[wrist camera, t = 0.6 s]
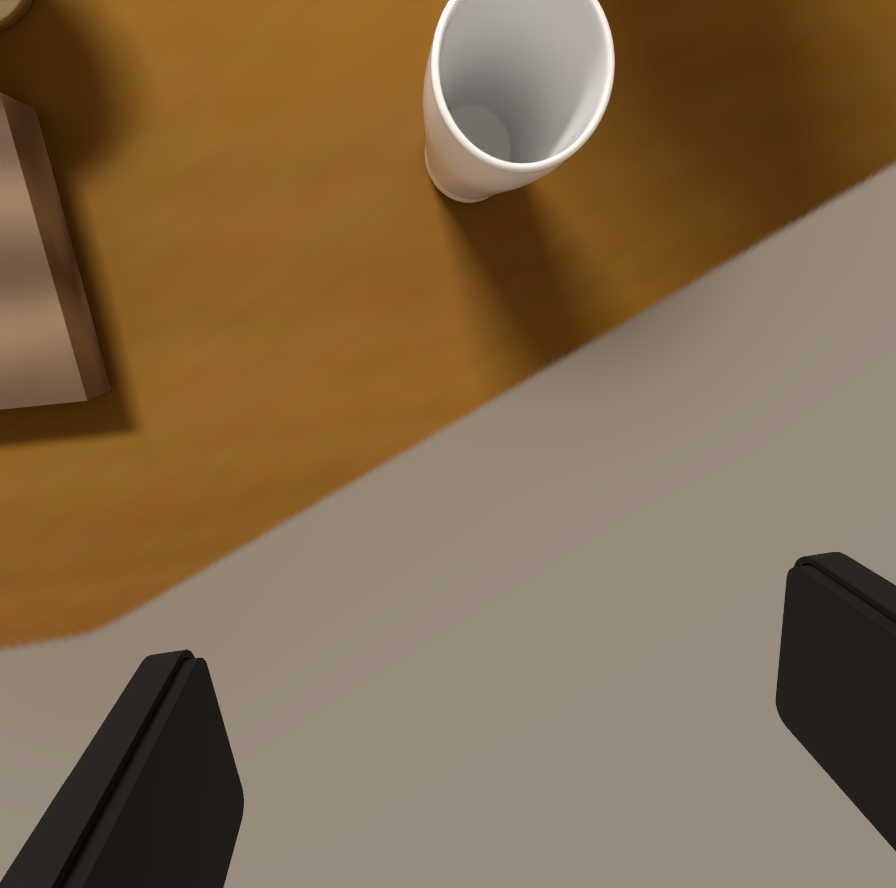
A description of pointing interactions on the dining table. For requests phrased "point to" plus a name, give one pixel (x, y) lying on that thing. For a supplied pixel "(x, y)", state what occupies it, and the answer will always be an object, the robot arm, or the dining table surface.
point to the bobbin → (12, 12)
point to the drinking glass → (512, 91)
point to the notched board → (40, 279)
